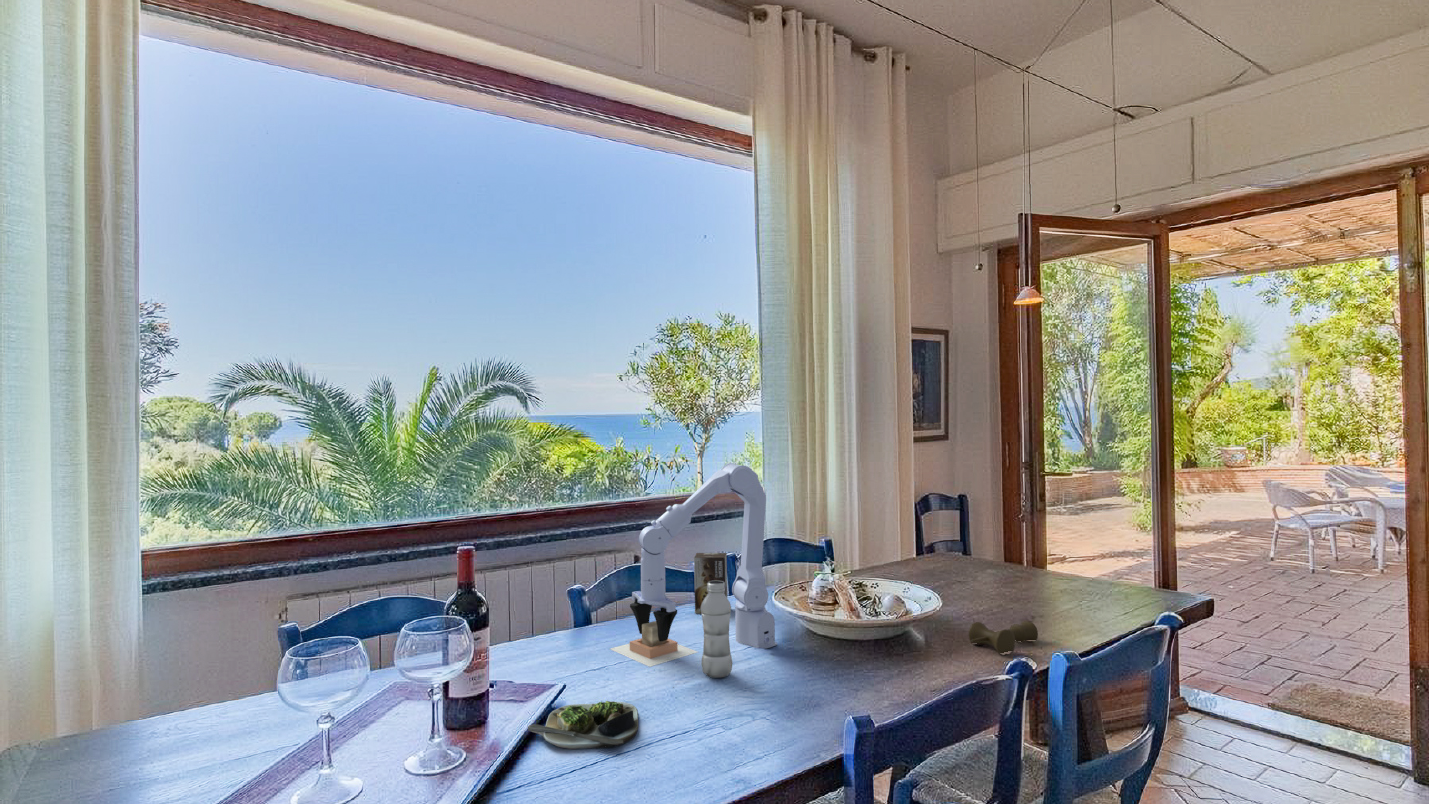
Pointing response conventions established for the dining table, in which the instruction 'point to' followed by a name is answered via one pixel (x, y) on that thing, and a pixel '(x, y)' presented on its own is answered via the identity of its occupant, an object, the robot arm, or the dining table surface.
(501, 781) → the dining table surface
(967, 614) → the dining table surface
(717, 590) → the plastic bottle
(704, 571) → the coffee box
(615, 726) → the salad plate
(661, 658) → the cream flat mat
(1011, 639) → the olive double spool shape
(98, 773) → the dining table surface
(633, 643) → the terracotta holder
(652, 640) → the birch peg
